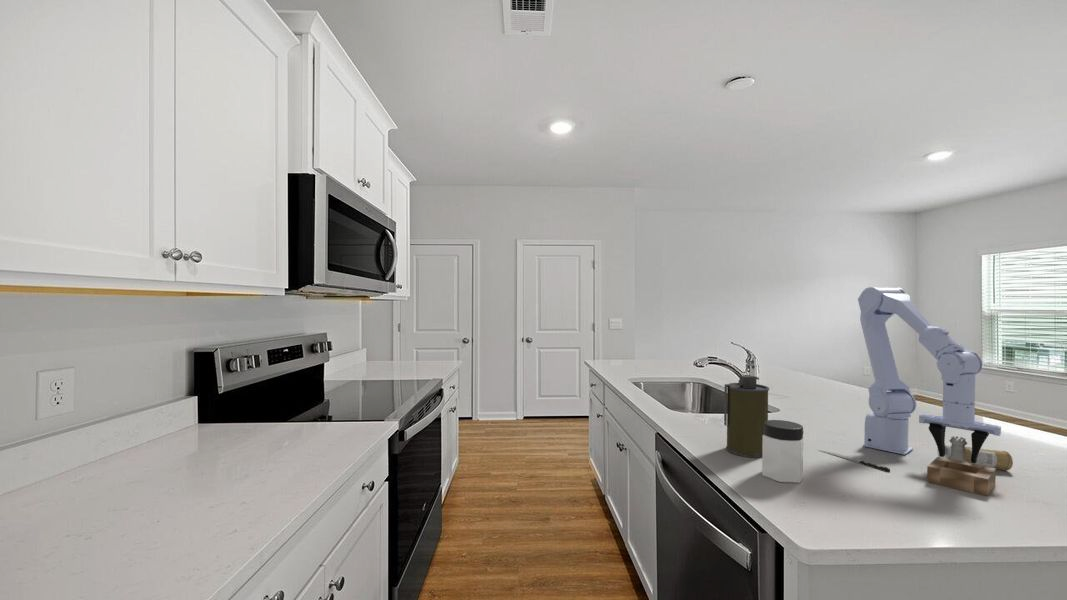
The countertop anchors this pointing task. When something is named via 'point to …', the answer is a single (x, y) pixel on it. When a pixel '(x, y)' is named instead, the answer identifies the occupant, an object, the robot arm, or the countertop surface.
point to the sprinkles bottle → (985, 457)
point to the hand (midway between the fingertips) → (957, 459)
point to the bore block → (962, 475)
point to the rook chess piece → (958, 449)
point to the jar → (782, 451)
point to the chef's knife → (857, 461)
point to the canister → (745, 416)
